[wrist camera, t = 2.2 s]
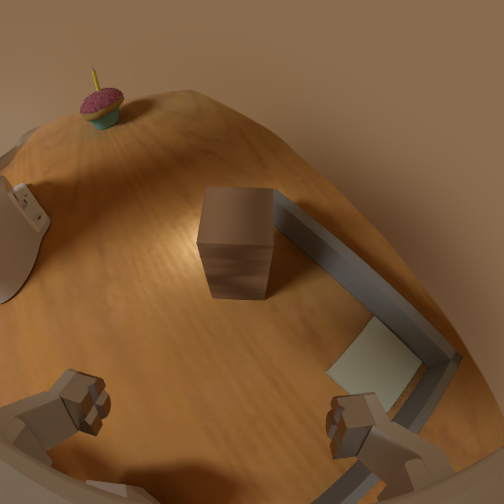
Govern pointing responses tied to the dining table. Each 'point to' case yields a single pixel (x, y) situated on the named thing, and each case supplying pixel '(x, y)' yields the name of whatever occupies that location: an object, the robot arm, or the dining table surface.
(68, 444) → the dining table surface
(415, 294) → the dining table surface
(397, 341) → the grey l-shaped bracket
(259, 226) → the walnut block
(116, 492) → the die
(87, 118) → the cupcake
